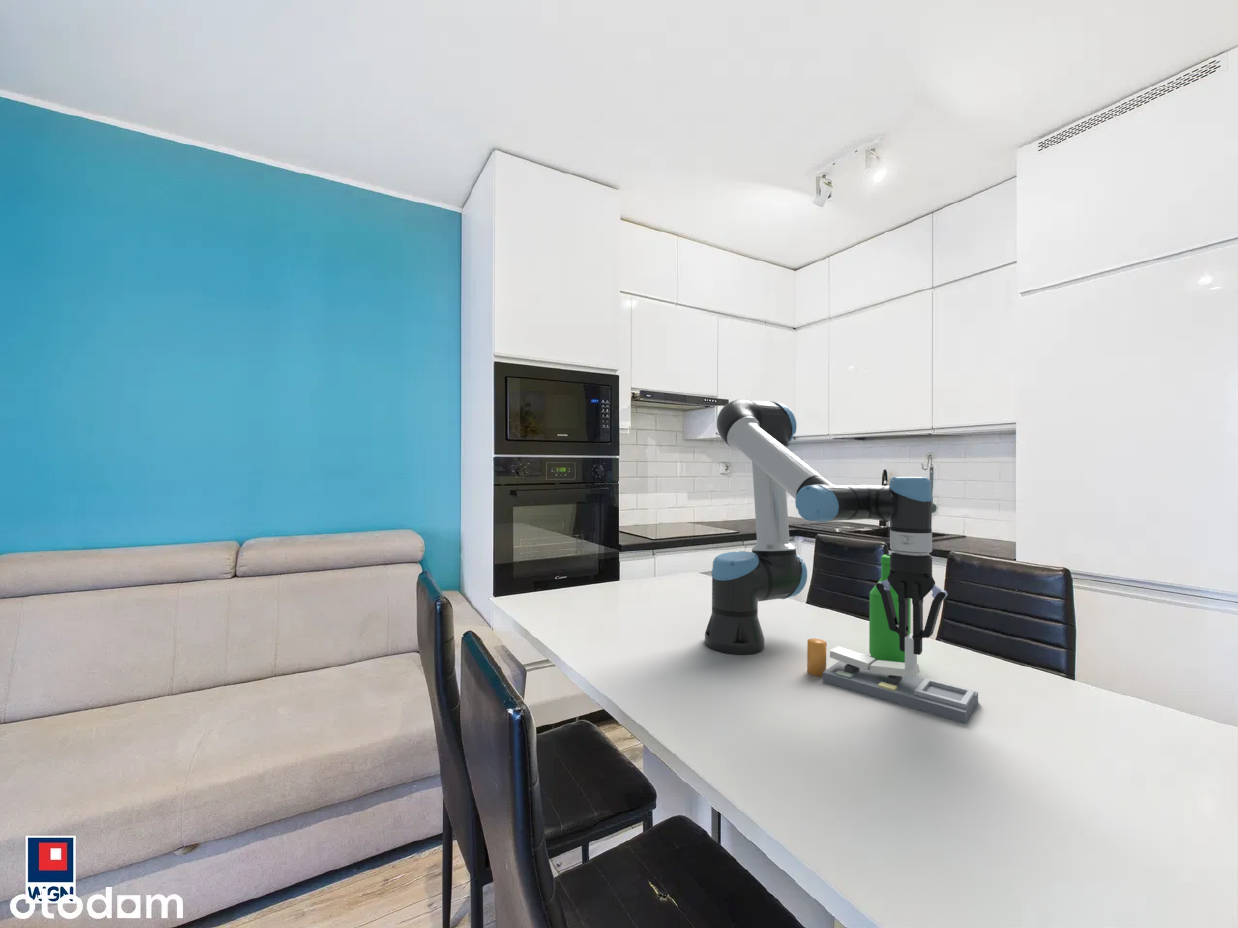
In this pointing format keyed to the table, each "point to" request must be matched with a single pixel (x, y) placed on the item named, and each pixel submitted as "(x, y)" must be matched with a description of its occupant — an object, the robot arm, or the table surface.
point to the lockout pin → (816, 656)
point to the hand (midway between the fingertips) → (910, 668)
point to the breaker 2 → (893, 669)
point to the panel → (906, 691)
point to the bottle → (884, 622)
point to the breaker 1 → (852, 657)
